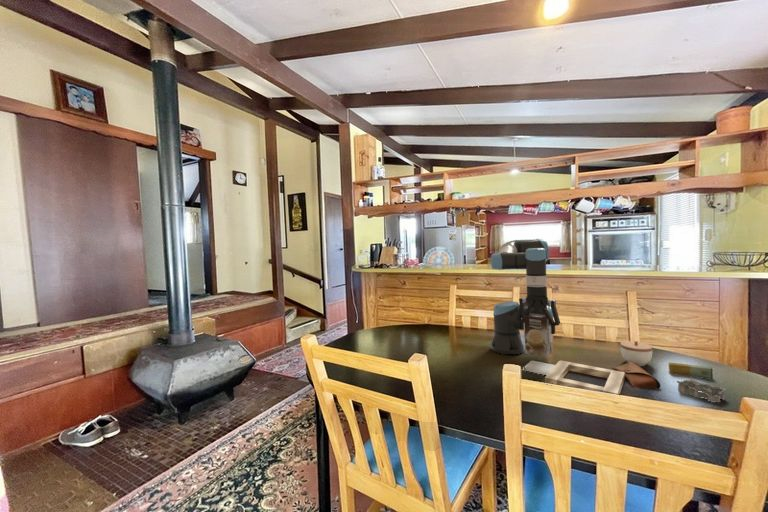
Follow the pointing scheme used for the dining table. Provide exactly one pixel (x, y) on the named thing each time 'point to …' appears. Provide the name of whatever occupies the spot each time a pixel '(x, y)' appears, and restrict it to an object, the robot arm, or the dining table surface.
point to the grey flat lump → (707, 390)
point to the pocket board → (613, 376)
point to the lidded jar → (636, 352)
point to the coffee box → (537, 335)
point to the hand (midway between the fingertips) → (538, 339)
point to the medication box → (690, 370)
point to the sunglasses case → (637, 376)
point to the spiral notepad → (539, 367)
